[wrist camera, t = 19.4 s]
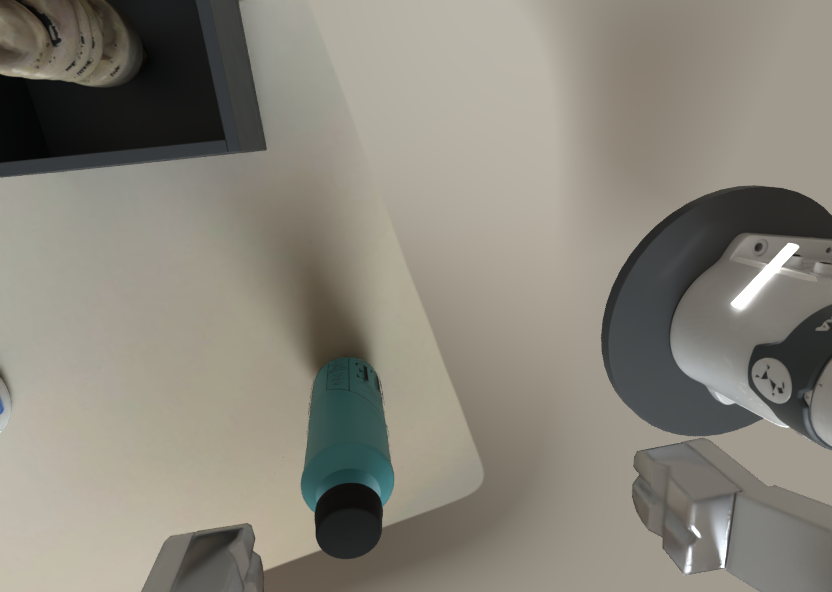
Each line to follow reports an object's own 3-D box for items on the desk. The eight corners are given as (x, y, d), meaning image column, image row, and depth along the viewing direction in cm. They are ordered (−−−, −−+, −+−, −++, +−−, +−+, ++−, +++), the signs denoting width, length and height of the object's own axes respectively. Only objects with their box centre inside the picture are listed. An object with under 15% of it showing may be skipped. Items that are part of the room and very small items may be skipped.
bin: (226, -60, 34) (180, -138, 25) (266, 150, 39) (241, 151, 29) (-20, -45, 32) (-170, -122, 23) (52, 172, 37) (-48, 181, 28)
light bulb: (167, 109, 36) (51, 87, 22) (88, 90, 35) (-88, 53, 21) (174, 30, 35) (54, -50, 20) (92, 7, 33) (-95, -95, 19)
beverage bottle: (302, 393, 46) (271, 567, 27) (330, 336, 44) (319, 475, 26) (363, 416, 48) (374, 593, 29) (392, 361, 46) (423, 510, 27)
